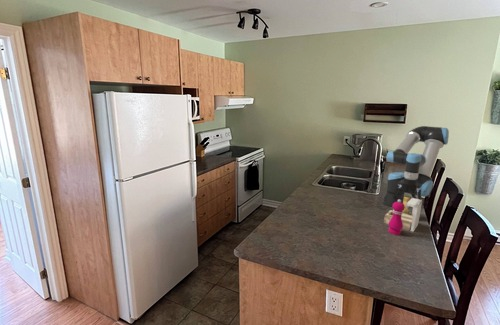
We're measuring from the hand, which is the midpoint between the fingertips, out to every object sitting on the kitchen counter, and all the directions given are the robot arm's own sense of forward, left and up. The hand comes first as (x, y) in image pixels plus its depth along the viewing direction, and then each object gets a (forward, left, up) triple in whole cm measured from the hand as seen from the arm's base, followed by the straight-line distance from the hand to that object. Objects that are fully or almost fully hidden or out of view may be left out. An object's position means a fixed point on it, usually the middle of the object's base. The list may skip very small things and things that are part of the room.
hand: (405, 212), depth 173 cm
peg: (0, 0, -4) cm, 4 cm away
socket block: (+12, 0, -4) cm, 13 cm away
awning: (+12, +6, -4) cm, 14 cm away
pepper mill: (+27, +1, -4) cm, 27 cm away
